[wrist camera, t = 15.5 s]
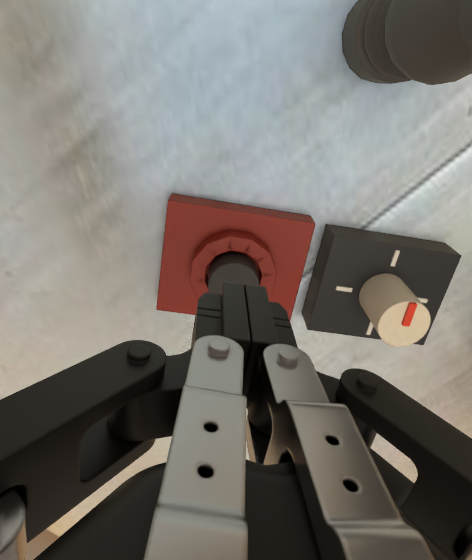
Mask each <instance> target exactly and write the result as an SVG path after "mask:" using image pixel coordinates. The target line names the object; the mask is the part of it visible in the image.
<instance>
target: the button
mask: <svg viewBox="0 0 472 560" xmlns="http://www.w3.org/2000/svg"><path fill="white" fill-rule="evenodd" d="M222 280H223V281H229V282H236V283H243V285H244V284H250V285H257V286H259V278H258V273H257V269H256V266H255V265H254V263H253V262H252V261H251V260H250V259H249V258H248V257H246V256H244V255H241V254H236V253H230V254H226V255H223V256H221V257H219V258H218V259H216V260H215V261H214V262H213V264H212V265H211V267H210V270H209V277H208V290H209V293H214V294H219V291H220V286H221V282H222Z"/></svg>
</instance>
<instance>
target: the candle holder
mask: <svg viewBox="0 0 472 560" xmlns="http://www.w3.org/2000/svg"><path fill="white" fill-rule="evenodd" d="M342 43H343V54H344V56H345V58H346V61H347V63H348V65H349V68H350V69H351V70H352V71H354V72H355V73H356V74H357V75H358V76H359V77H360V78H361V79H365V80H368V81H371V82H375V83H390V84H392V83H398V82H404V81H410V80H414V81H418V82H421V83H425V84H428V85H435V84H442V83H448V82H454V81H457V80H459V79H461V78H463V77H465V76H467V75H469V74H471V73H472V0H358V1H357V3H356V4H355V6H354V7H353V8H352V10H351V11H350V12H349V14H348V16H347V19H346V23H345V26H344V29H343V32H342Z"/></svg>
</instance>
